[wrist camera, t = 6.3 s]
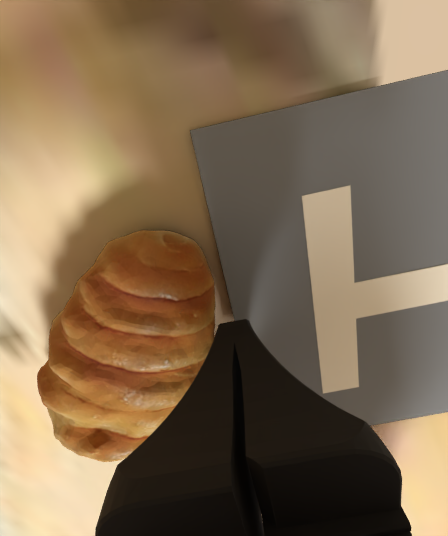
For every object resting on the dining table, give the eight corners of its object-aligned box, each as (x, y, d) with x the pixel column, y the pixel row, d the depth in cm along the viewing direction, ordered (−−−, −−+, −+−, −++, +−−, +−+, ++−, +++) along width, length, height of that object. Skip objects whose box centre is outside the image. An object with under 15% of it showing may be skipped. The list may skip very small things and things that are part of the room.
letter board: (560, 387, 16) (566, 391, 15) (263, 441, 16) (263, 445, 16) (678, 15, 9) (690, 12, 9) (190, 130, 10) (189, 130, 10)
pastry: (87, 197, 11) (30, 222, 8) (253, 250, 12) (270, 293, 9) (55, 380, 14) (6, 457, 11) (188, 409, 16) (182, 486, 12)
